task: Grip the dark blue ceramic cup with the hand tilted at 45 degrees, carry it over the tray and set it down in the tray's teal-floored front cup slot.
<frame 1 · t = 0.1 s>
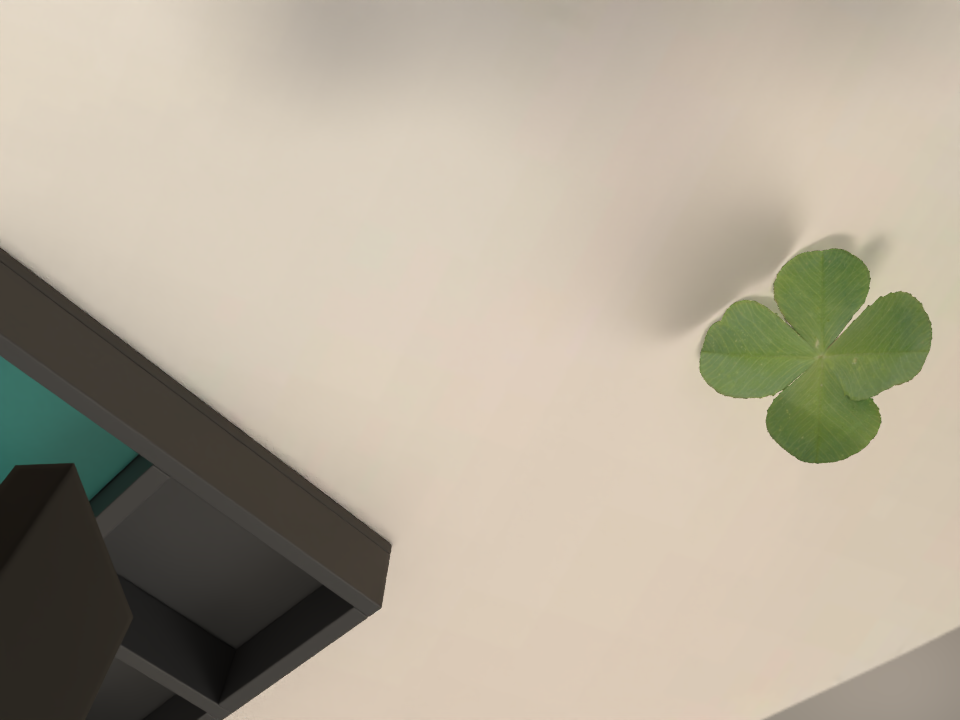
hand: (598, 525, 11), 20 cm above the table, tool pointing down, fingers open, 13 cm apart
tray: (64, 533, 38), on the table
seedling: (794, 338, 32), on the table
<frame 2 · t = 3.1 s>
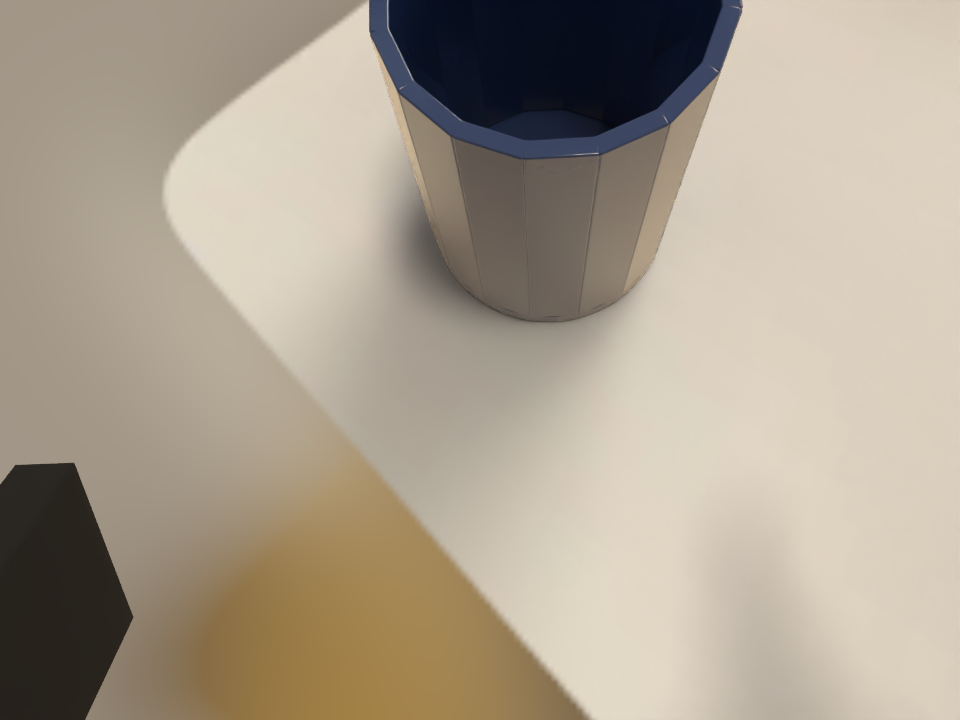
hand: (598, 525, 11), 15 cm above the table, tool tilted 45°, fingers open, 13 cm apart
cup: (548, 212, 28), on the table
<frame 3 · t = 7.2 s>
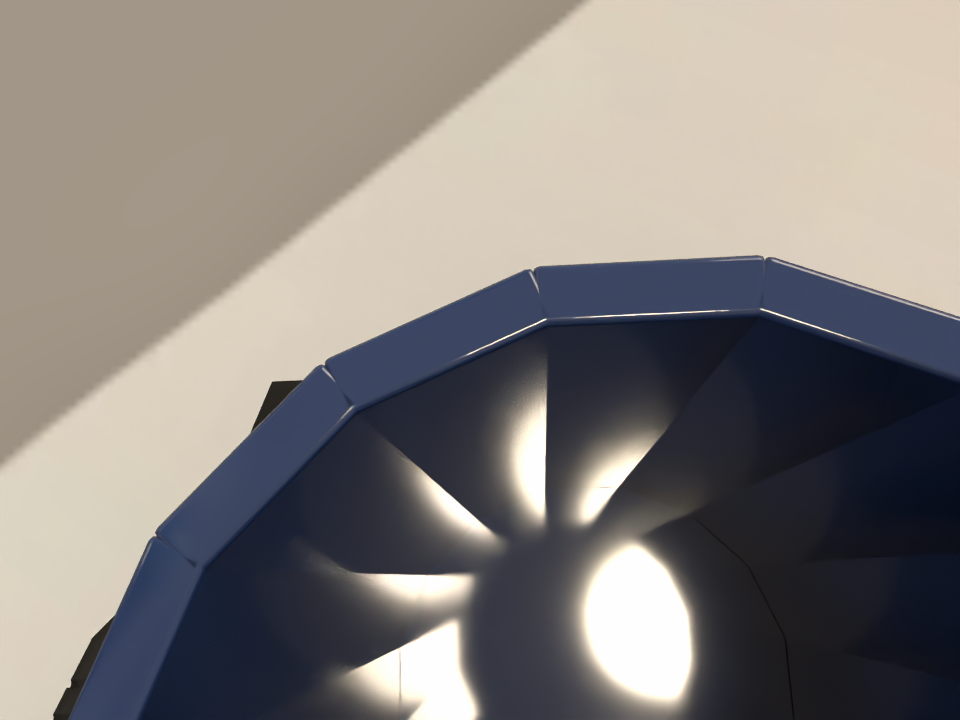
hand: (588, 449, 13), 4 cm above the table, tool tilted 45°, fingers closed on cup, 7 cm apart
cup: (590, 679, 15), on the table, touching gripper
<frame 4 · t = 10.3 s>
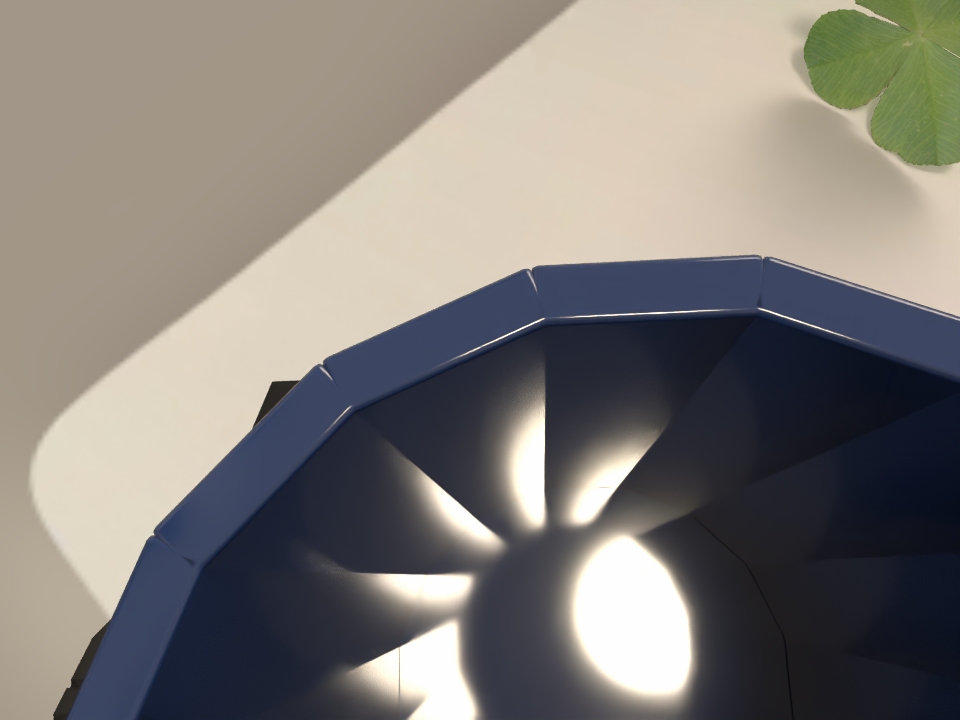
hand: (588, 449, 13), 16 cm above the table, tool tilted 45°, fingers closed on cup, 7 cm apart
cup: (589, 678, 15), point 12 cm above the table, touching gripper
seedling: (915, 82, 31), on the table
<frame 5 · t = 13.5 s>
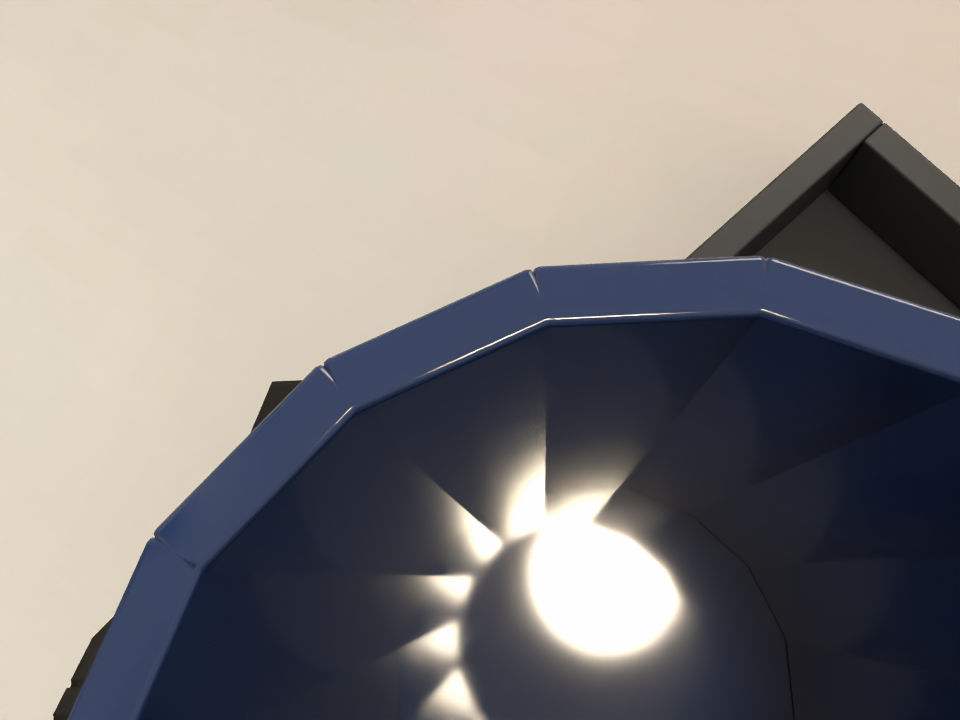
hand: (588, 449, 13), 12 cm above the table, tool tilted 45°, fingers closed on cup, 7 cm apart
cup: (590, 679, 15), point 9 cm above the table, touching gripper
tray: (835, 659, 23), on the table
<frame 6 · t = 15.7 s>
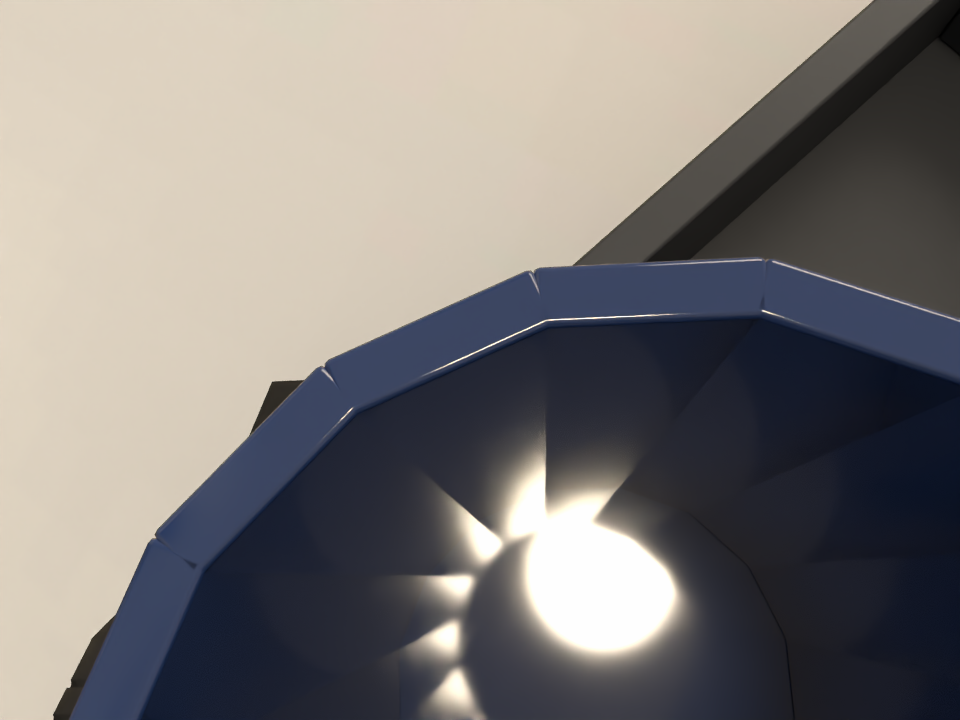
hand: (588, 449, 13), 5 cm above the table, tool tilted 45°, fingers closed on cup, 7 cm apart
cup: (590, 679, 15), point 1 cm above the table, touching gripper
when the fingers open (5 cm above the table, at t = 20.7 s): cup stays where it is, resting on tray.
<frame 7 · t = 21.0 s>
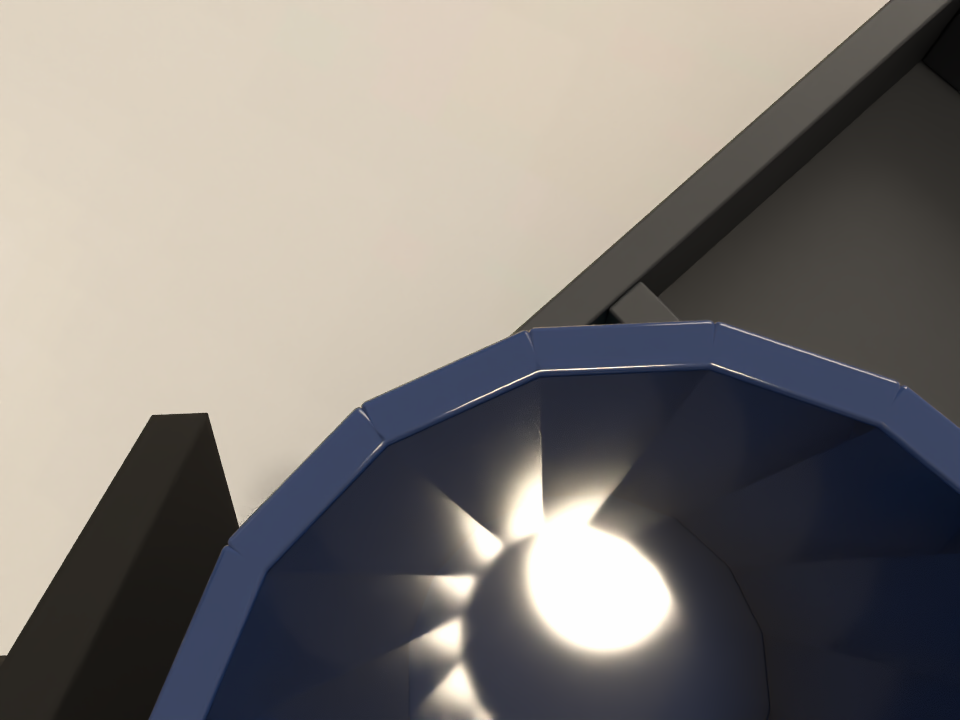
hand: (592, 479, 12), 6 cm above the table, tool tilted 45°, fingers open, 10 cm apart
cup: (584, 671, 17), point 1 cm above the table, touching tray
tray: (946, 691, 17), on the table
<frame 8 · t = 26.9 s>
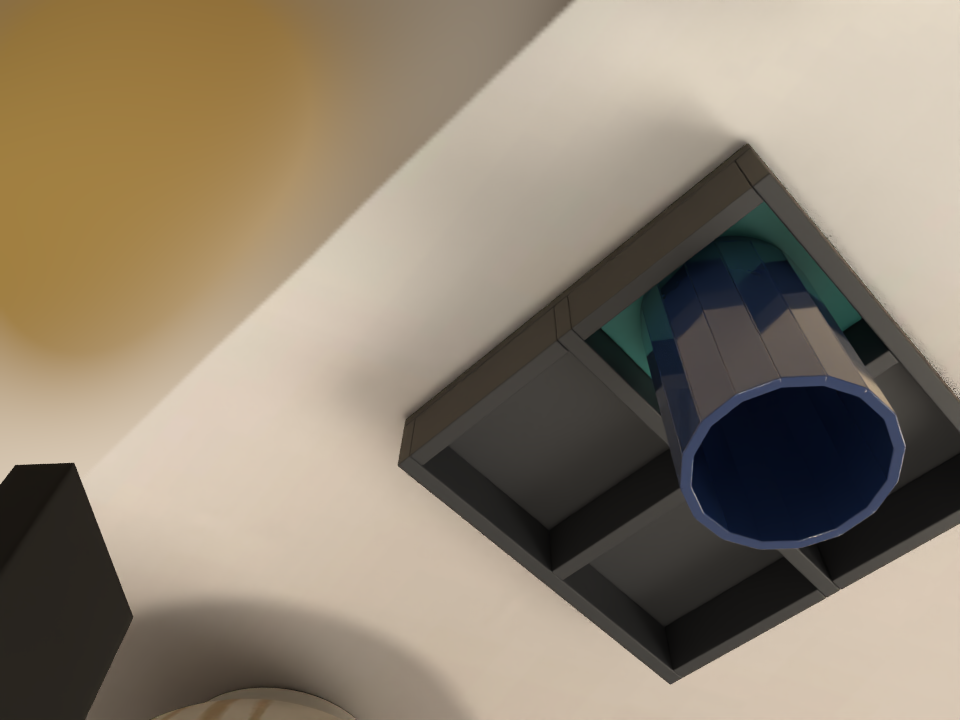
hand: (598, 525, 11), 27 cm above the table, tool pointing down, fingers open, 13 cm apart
cup: (722, 311, 39), point 1 cm above the table, touching tray
tray: (696, 429, 43), on the table
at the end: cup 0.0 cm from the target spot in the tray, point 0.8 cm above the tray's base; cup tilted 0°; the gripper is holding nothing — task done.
